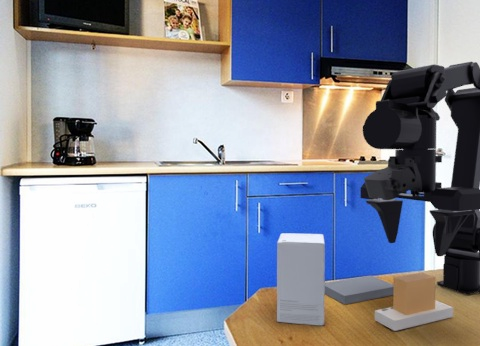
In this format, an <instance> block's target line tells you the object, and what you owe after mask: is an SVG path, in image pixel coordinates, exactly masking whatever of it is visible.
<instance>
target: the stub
mask: <svg viewBox="0 0 480 346" xmlns="http://www.w3.org/2000/svg"><path fill="white" fill-rule="evenodd" d="M436 281H437V279H436V276H434V275H432V274H428V273H425V272H416V273H411V274H405V275H399V276H395V277H394V276H393V285H394V295H393V298H392V299H393V301H392V302H393V306H389V307H386V308H380V309H376V310H374V321H376V322H378V323H379V324H381V325H383V326H385V327H386V328H389V329H391V330H392V331H394V332H395V331H400V330H404V329H409V328H413V327H416V326H421V325H425V324H429V323H433V322H436V321H442V320H445V319H450V318H453V316H454V306H450V305H448V304H445V303H443V302H441V301H438V300H437V299H436V285H437V282H436Z"/></svg>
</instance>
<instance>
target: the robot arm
mask: <svg viewBox="0 0 480 346" xmlns="http://www.w3.org/2000/svg"><path fill="white" fill-rule="evenodd" d="M390 78H391V79H390V80H388V82H387V84H386V87H385V89H384V91H383V94H382V96H381V99H380V100H376V101H375V109H374V110H373V111H372V112H370V113H369V115H367V117H366V119H365V120H364V124H363V125H362V135H363V139H364V141H365V142H366V143H367V144H368V145H369V147H371V148H374V149H378V150H395V155H393V156H392V155H391V156H390V155H389V158H388V160H387V166H386V167H385V168H384V167H383V168H381V169H379V170H377V171H374V172H372V173H371V174H368V175H367V176H365V177H364V178H363V180H364V183H363V184H362V185H361V187H360V199H364V200H365V203H366V204H367V205H370V207H372V208H373V209H375V211H376V212H377V214H378V216H379V219H380V222H381V224H382V226H383V230H384V232H385V236H386V239H387V242H388V243H389V244H395V243H396V241H397V236H398V234H399V227H400V221H401V214H402V210H403V201H404V200H405V199H406V200H411V201H412V200H413V201H420V202H427V203H428V202H429V203H431V206H432V207H434V209H432V210H431V209H430V210H429V213H430V215H431V216H432V218H433V219H434V222H435V223H434V225H433V227H432V239H433V245H434V253H435V254H436V256H437V257H443V256H444V258H443V259H444V260H443V266H442V267H443V268H442V269H443V270H442V271H443V272H442V273H443V276H442V277H443V278H442V280H439V281H437V282H436V285H438V286H441V287H444V288H446V289H449V290H452V291H455V292H457V293H460V294H463V295H472V294H477V293H480V65H479V63H478V62H476V61H475V62H473V61H467V62H462V63H456V64H451V65H448V67H444V66H442V65H439V64H430V65H424V66H418V67H413V68H409V69H403V70H397V71H394V72H393V73H392V74H391V76H390ZM469 85H473V87H471V88H462V89H458V90H456V91H455V90H454V89H457V88H461V87H463V86H469ZM443 99H444V102H445V104H446V105H447V107H448V109H449V111H450V118H451V119H452V121H453V123H454V125H455V126H456V127H457V135H456V143H455V151H454V161H453V165H452V166H453V167H452V177H451V182H450V183H451V185H450V186H449V187H442V182H437V180H436V176H437V171H436V169H437V167H436V165H437V163H443V160H442V159H443V156H442V155H437V121H440V119H441V117H440V115H439V113H438V112H436V111H435V109H434V108H435V107H436V105H437V104H438V103H439V102H441V101H442V100H443ZM408 191H410V193H409V192H408ZM402 199H404V200H402Z"/></svg>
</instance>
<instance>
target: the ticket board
mask: <svg viewBox="0 0 480 346" xmlns="http://www.w3.org/2000/svg"><path fill="white" fill-rule="evenodd" d="M325 295H326V296H329V297H330V298H332V299H334V300H335V301H337V302H339V303H341V304H343V305H349V304H355V303H360V302H364V301H369V300H375V299H380V298H385V297H389V296H394V283H391V282H388V281H385V280H383V279H381V278H378V277H376V276H374V275H364V276H358V277H353V278H346V279H341V280H340V279H339V280H335V281H328V282H325Z"/></svg>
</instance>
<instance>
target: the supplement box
mask: <svg viewBox="0 0 480 346" xmlns="http://www.w3.org/2000/svg"><path fill="white" fill-rule="evenodd" d="M276 251H277V252H276V322H278V323H285V324H286V323H287V324H295V325H297V324H298V325H312V326H324V325H325V295H326V294H325V283H326V281H325V278H326V277H325V276H326V275H325V273H326V272H325V271H326V270H325V269H326V258H325V257H326V243H325V236H324V234H322V233H293V232H292V233H289V232H288V233H287V232H286V233H280V235H279V237H278V240H277V241H276Z"/></svg>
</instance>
